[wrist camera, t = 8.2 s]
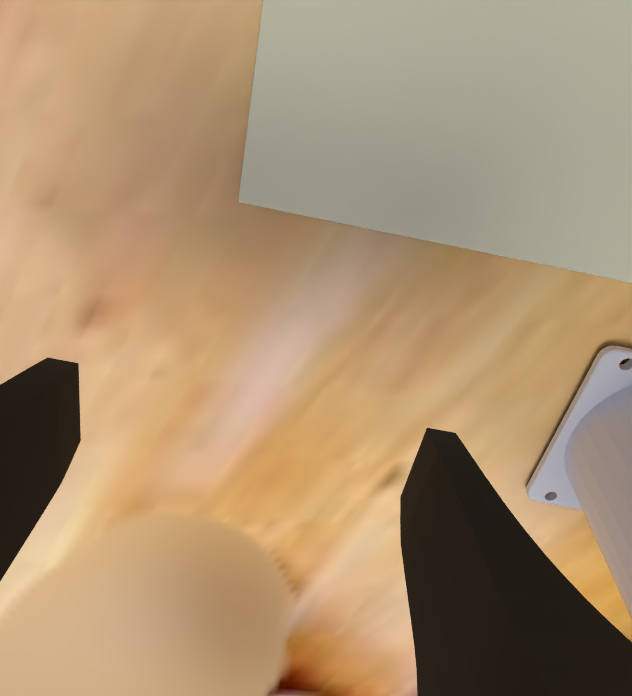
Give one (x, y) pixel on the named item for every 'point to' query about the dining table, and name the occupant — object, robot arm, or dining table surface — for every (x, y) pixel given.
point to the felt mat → (451, 123)
